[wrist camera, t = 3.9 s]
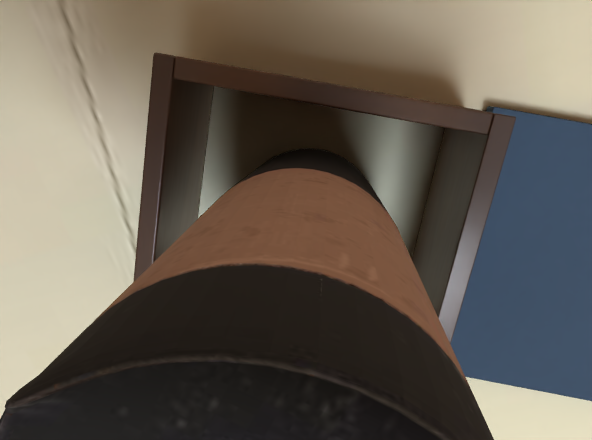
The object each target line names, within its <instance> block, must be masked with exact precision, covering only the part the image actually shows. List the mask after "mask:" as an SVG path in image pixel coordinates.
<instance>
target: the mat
mask: <svg viewBox="0 0 592 440" xmlns="http://www.w3.org/2000/svg"><path fill="white" fill-rule="evenodd" d="M486 112H492V113H497V114H503V115H508V116H514V117H516V121H515V124H514V127H513V131H512V134H511V138H510V141H509V145H508V148H507V152H506V155H505V158H504V162H503V165H502V169H501V172H500V176H499V179H498V183H497V186H496V189H495V193H494V196H493V200H492V203H491V207H490V210H489V213H488V217H487V220H486V224H485V227H484V231H483V234H482V238H481V241H480V244H479V248H478V251H477V255H476V258H475V262H474V265H473V269H472V272H471V275H470V279H469V282H468V286H467V289H466V293H465V296H464V300H463V303H462V306H461V310H460V313H459V317H458V320H457V324H456V327H455V331H454V334H453V337H452V341H451V344H450V345H451V347H452V349H453V351H454V354H455V356H456V358H457V360H458V362H459V364H460V367H461V369H462V371H463V373H464V375H465V377H470V378H475V379H480V380H486V381H491V382H496V383H501V384H506V385H512V386H517V387H522V388H527V389H532V390H538V391H543V392H548V393H553V394H558V395H564V396H569V397H574V398H579V399H584V400H590V401H592V124H589V123H583V122H578V121H572V120H567V119H561V118H555V117H550V116H544V115H538V114H533V113H527V112H522V111H516V110H510V109H505V108H499V107H491V106H489V107H487V110H486Z"/></svg>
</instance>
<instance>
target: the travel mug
mask: <svg viewBox="0 0 592 440" xmlns="http://www.w3.org/2000/svg"><path fill="white" fill-rule="evenodd" d="M5 408H6V409H5V411H4V413H3V415H2V417H1V419H0V440H494V439H493V437H492V435H491V432H490V430H489V428H488V426H487V424H486V421H485V419H484V417H483V415H482V413H481V410H480V408H479V406H478V404H477V402H476V400H475V397H474V395H473V393H472V391H471V389H470V386H469V384H468V382H467V380H466V378H465V375H464V373H463V371H462V369H461V367H460V364H459V362H458V360H457V358H456V356H455V354H454V351H453V349H452V347H451V345H450V343H449V340H448V338H447V336H446V334H445V332H444V329H443V327H442V325H441V323H440V321H439V318H438V316H437V314H436V312H435V310H434V307H433V305H432V303H431V301H430V299H429V296H428V294H427V292H426V290H425V288H424V285H423V283H422V281H421V279H420V277H419V275H418V272H417V270H416V268H415V266H414V264H413V261H412V259H411V257H410V255H409V253H408V250H407V248H406V246H405V244H404V242H403V239H402V237H401V235H400V233H399V231H398V228H397V226H396V225H395V223H394V221H393V220H392V218H391V217H390V215H389V213H388V212H387V210H386V209H385V207H384V206H383V204H382V202H381V201H380V199H379V198H378V196H377V195H376V193H375V191H374V190H373V188H372V187H371V185H370V184H369V182H368V181H367V179H366V178H365V177H364V175H363V174H362V173H361V172H360V171H359V170H358V169H357V168H356V167H355V166H354V165H353V164H352V163H350V162H349V161H347V160H346V159H344V158H342V157H340V156H339V155H337V154H334V153H331V152H328V151H324V150H320V149H298V150H292V151H289V152H286V153H283V154H280V155H278V156H276V157H274V158H272V159H271V160H269V161H268V162H266V163H265V164H263V165H262V166H260V167H259V168H258V169H256V170H255V171H253V172H252V173H251V174H249V175H248V176H247V177H245V178H244V179H243V180H241V181H240V182H239V183H237V184H236V185H235V186H233V187H232V188H231V189H229V190H228V191H227V192H226V193H225V194H224V195H222V196H221V197H220V198H219V199H218V200H217V201H216V202H215V203H214V204H213V205H212V206H211V207H210V208H209V209H208V210H207V211H206V212H205V213H204V214H203V215H201V216H200V217H199V218H198V219H197V220H196V221H195V222H194V223H193V224H192V225H191V226H190V227H189V228H188V229H187V230H186V231H185V232H184V233H183V234H182V235H181V236H180V237H179V238H178V239H177V240H176V241H175V242H174V243H173V244H172V245H171V246H170V247H169V248H168V249H167V250H166V251H165V252H164V253H163V254H162V255H161V256H160V257H159V258H158V259H157V260H156V261H155V262H154V263H153V264H152V265H151V266H150V267H149V268H148V269H147V270H146V271H145V272H143V273H142V274H141V275H140V276H139V277H138V278H137V279H136V280H135V281H134V282H133V283H132V284H131V285H130V286H129V287H128V288H127V289H126V290H125V291H124V292H123V293H122V294H121V295H120V296H119V297H118V298H117V299H116V300H115V301H114V302H113V303H112V304H111V305H110V306H109V307H108V308H107V309H106V310H105V311H104V312H103V313H102V314H101V315H100V316H99V317H98V318H97V319H96V320H95V321H94V322H93V323H92V324H91V325H90V326H89V327H87V328H86V329H85V330H84V331H83V332H82V333H81V334H80V335H79V336H78V337H77V338H76V339H75V340H74V341H73V342H72V343H71V344H70V345H69V346H68V347H67V348H66V349H65V350H64V351H63V352H62V353H61V354H60V355H59V356H58V357H57V358H56V359H55V360H54V361H53V362H52V363H51V364H50V365H49V366H48V367H47V368H46V369H45V370H44V371H43V372H42V373H41V374H39V375H38V376H37V377H36V378H34V379H33V380H32V381H30V382H29V383H28V384H26V385H25V386H24V387H22V388H21V389H20V390H18V391H17V392H16V393H15V394H14V395H13V396H12V397H11V398H10V399H9V400H7V401H6V405H5Z"/></svg>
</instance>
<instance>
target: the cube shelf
mask: <svg viewBox="0 0 592 440" xmlns="http://www.w3.org/2000/svg"><path fill="white" fill-rule="evenodd" d="M214 86H216V87H222V88H227V89H233V90H238V91H244V92H250V93H255V94H261V95H266V96H272V97H277V98H283V99H288V100H294V101H300V102H305V103H311V104H316V105H322V106H327V107H333V108H338V109H344V110H350V111H355V112H361V113H366V114H372V115H377V116H383V117H389V118H394V119H400V120H405V121H411V122H416V123H422V124H427V125H433V126H439V127H444V128H445V131H444V135H443V139H442V143H441V147H440V151H439V155H438V159H437V163H436V167H435V171H434V175H433V179H432V182H431V186H430V190H429V194H428V198H427V202H426V206H425V210H424V214H423V218H422V222H421V226H420V230H419V234H418V238H417V242H416V246H415V250H414V254H413V258H412V261H413V264H414V266H415V268H416V270H417V272H418V275H419V277H420V279H421V281H422V283H423V285H424V288H425V290H426V292H427V294H428V296H429V299H430V301H431V303H432V305H433V307H434V310H435V312H436V314H437V316H438V318H439V321H440V323H441V325H442V327H443V329H444V332H445V334H446V336H447V338H448V340H449V343H450V344H451V341H452V337H453V334H454V331H455V327H456V324H457V320H458V317H459V313H460V310H461V306H462V303H463V300H464V296H465V293H466V289H467V286H468V282H469V279H470V275H471V272H472V269H473V265H474V262H475V258H476V255H477V251H478V248H479V244H480V241H481V238H482V234H483V231H484V227H485V224H486V220H487V217H488V213H489V210H490V207H491V203H492V200H493V196H494V193H495V189H496V186H497V183H498V179H499V176H500V172H501V169H502V165H503V162H504V158H505V155H506V152H507V148H508V145H509V141H510V138H511V134H512V131H513V127H514V124H515V121H516V117H514V116H508V115H503V114H497V113H492V112H486V111H480V110H475V109H469V108H464V107H458V106H452V105H447V104H441V103H436V102H430V101H424V100H419V99H413V98H408V97H402V96H396V95H391V94H385V93H380V92H374V91H368V90H363V89H357V88H352V87H346V86H340V85H335V84H329V83H324V82H318V81H312V80H307V79H301V78H296V77H290V76H285V75H279V74H273V73H268V72H262V71H257V70H251V69H245V68H240V67H234V66H229V65H223V64H217V63H212V62H206V61H201V60H195V59H189V58H184V57H178V56H173V55H167V54H161V53H154V56H153V67H152V78H151V90H150V101H149V113H148V124H147V135H146V147H145V158H144V170H143V181H142V192H141V204H140V215H139V227H138V238H137V249H136V261H135V272H134V281H135V280H136V279H137V278H138V277H139V276H140V275H141V274H142V273H143V272H145V271H146V270H147V269H148V268H149V267H150V266H151V265H152V264H153V263H154V262H155V261H156V260H157V259H158V258H159V257H160V256H161V255H162V254H163V253H164V252H165V251H166V250H167V249H168V248H169V247H170V246H171V245H172V244H173V243H174V242H175V241H176V240H177V239H178V238H179V237H180V236H181V235H182V234H183V233H184V232H185V231H186V230H187V229H188V228H189V227H190V226H191V225H192V224H193V223H194V222H195V221H196V220H197V218H198V210H199V202H200V194H201V186H202V177H203V169H204V161H205V153H206V145H207V136H208V128H209V120H210V112H211V103H212V95H213V87H214Z"/></svg>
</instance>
